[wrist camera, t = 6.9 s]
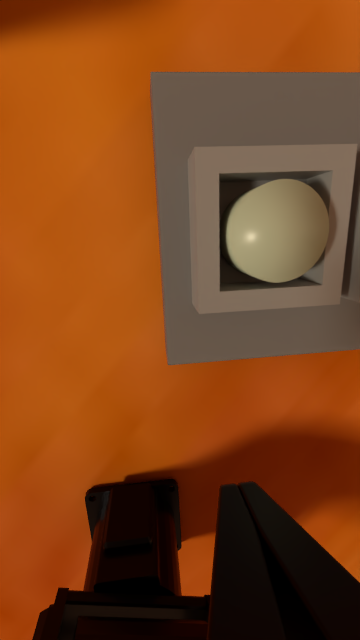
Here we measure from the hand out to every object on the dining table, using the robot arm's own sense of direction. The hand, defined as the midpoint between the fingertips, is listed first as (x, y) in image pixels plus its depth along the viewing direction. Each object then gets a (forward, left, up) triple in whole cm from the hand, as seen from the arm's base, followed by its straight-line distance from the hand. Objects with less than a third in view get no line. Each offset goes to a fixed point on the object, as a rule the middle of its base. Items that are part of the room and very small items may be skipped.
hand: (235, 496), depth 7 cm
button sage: (+6, -4, -10) cm, 12 cm away
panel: (+6, -12, -12) cm, 18 cm away
